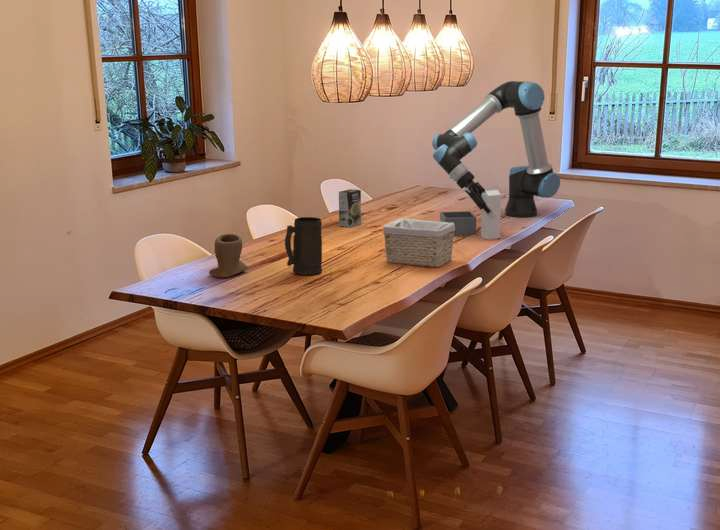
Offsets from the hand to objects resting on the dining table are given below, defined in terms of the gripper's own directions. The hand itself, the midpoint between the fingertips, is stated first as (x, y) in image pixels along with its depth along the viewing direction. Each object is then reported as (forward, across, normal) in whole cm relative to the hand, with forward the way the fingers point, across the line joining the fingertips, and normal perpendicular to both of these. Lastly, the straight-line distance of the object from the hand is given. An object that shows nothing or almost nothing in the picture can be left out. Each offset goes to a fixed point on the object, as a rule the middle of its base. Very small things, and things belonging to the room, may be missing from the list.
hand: (498, 216), depth 358 cm
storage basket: (-6, +46, -20) cm, 51 cm away
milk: (+5, 0, -9) cm, 10 cm away
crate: (-7, -5, -21) cm, 22 cm away
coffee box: (-43, -4, -57) cm, 71 cm away
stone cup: (-47, +88, -61) cm, 117 cm away
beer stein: (-29, +77, -43) cm, 93 cm away
